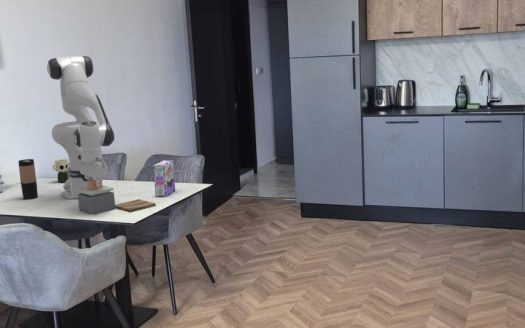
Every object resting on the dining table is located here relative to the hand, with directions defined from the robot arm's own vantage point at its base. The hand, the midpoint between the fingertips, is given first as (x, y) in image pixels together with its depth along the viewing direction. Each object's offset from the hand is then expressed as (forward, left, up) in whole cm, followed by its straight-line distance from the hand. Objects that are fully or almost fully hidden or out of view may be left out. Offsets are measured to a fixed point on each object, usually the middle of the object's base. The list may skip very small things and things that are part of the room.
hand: (94, 185), depth 265 cm
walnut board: (+10, +14, -12) cm, 21 cm away
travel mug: (-53, -9, -12) cm, 55 cm away
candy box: (0, +39, -12) cm, 41 cm away
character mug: (-77, +21, -12) cm, 80 cm away
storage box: (0, 0, -12) cm, 12 cm away
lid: (0, 0, -3) cm, 3 cm away
